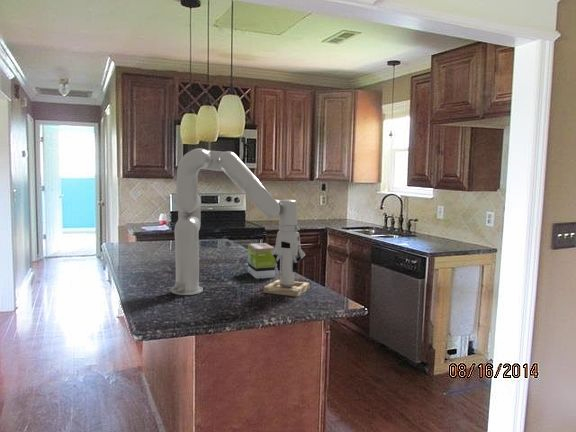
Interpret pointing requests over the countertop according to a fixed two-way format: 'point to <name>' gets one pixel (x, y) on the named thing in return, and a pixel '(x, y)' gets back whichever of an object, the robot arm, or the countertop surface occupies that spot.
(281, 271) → the travel mug
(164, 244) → the countertop surface
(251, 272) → the tea box
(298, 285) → the holder base
